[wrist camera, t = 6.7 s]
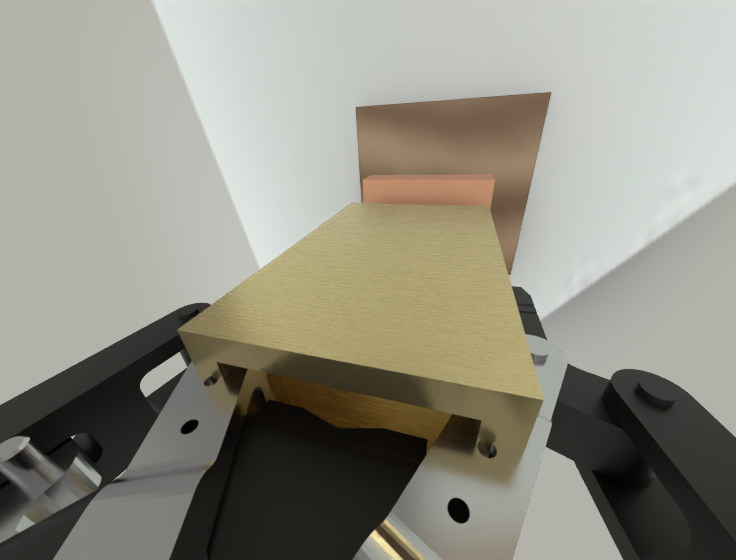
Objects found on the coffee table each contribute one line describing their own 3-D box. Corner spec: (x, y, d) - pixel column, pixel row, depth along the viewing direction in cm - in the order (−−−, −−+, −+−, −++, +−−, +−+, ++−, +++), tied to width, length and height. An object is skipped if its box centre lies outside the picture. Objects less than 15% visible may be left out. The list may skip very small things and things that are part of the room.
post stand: (360, 107, 24) (260, 96, 12) (546, 93, 20) (661, 57, 8) (368, 257, 31) (309, 342, 19) (508, 269, 27) (542, 384, 15)
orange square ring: (370, 174, 16) (362, 179, 15) (492, 174, 14) (494, 179, 13) (374, 274, 19) (368, 285, 18) (475, 284, 17) (476, 297, 16)
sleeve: (352, 202, 12) (177, 329, 5) (488, 205, 11) (543, 400, 3) (359, 307, 15) (255, 494, 8) (470, 322, 13) (477, 575, 6)
